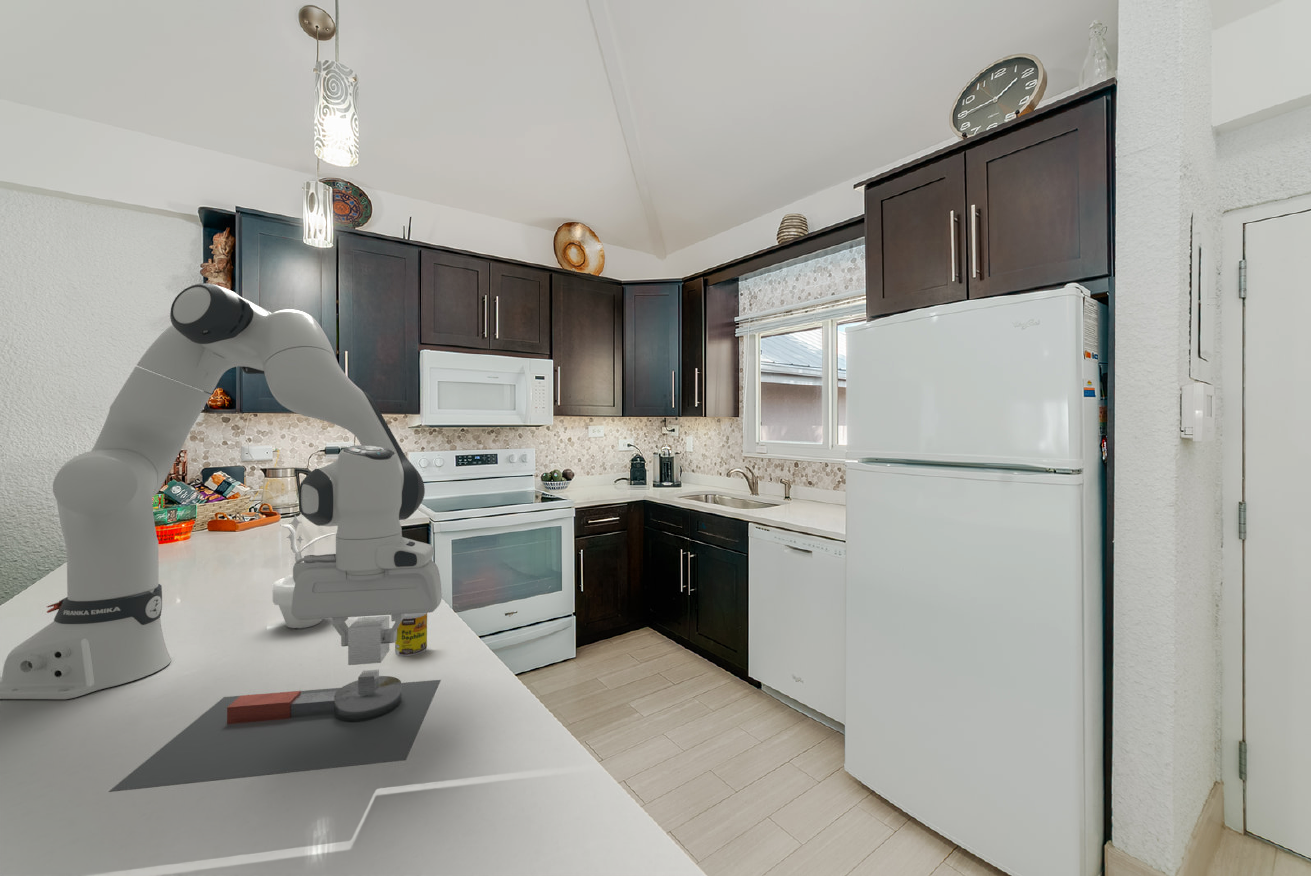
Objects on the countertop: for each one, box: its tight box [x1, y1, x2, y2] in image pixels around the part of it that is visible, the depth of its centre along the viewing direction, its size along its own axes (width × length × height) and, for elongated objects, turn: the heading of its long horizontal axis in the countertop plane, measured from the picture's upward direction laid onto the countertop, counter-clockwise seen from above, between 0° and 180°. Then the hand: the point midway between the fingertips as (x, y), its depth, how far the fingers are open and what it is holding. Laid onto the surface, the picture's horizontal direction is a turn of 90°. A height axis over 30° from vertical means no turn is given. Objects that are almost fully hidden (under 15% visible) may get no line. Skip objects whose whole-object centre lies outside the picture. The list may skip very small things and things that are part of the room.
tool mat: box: [108, 679, 441, 793], centre depth 75 cm, size 32×22×1 cm
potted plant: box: [272, 514, 337, 629], centre depth 115 cm, size 13×12×25 cm
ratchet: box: [227, 669, 403, 724], centre depth 79 cm, size 22×9×5 cm, turn 101°
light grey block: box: [347, 615, 390, 666], centre depth 80 cm, size 4×4×6 cm
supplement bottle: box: [394, 613, 428, 657], centre depth 101 cm, size 6×6×10 cm
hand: (369, 643), depth 80 cm, fingers closed on light grey block, 4 cm apart
